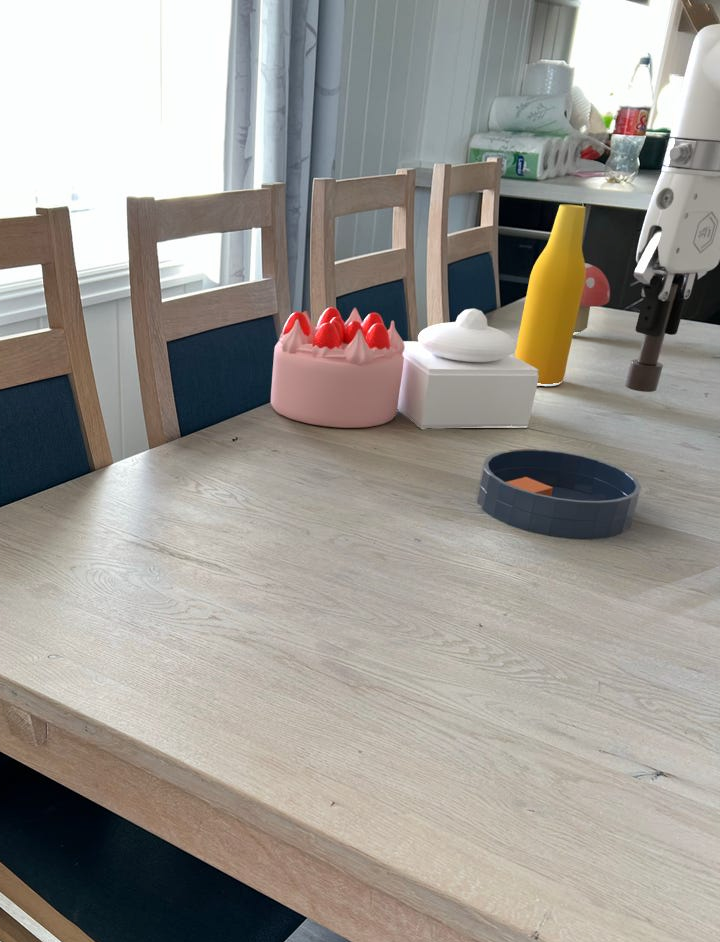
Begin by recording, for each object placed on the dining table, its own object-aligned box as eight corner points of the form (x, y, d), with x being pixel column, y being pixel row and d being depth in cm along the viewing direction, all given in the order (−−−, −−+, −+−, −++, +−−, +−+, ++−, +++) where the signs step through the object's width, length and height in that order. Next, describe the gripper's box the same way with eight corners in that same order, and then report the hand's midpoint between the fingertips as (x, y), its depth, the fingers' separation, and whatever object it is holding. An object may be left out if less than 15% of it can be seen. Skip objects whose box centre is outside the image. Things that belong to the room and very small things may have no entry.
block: (546, 519, 115) (553, 487, 113) (524, 525, 113) (531, 493, 111) (519, 508, 118) (526, 476, 116) (497, 514, 116) (504, 482, 114)
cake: (371, 392, 162) (383, 303, 155) (415, 429, 145) (430, 332, 138) (257, 392, 158) (263, 301, 151) (288, 431, 141) (297, 330, 134)
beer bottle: (559, 377, 179) (597, 205, 164) (565, 390, 171) (605, 211, 156) (508, 372, 180) (541, 201, 165) (511, 384, 172) (547, 206, 157)
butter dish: (420, 429, 145) (437, 320, 137) (381, 395, 160) (394, 295, 153) (528, 428, 149) (550, 321, 141) (479, 395, 164) (497, 297, 156)
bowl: (661, 526, 117) (672, 487, 114) (561, 555, 108) (572, 513, 105) (543, 477, 130) (551, 441, 127) (445, 499, 120) (452, 461, 118)
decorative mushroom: (525, 334, 211) (540, 260, 203) (552, 326, 220) (566, 256, 212) (584, 346, 203) (602, 270, 196) (609, 337, 213) (626, 265, 205)
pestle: (662, 390, 117) (691, 286, 111) (644, 393, 115) (672, 287, 109) (637, 382, 120) (663, 280, 114) (618, 385, 118) (645, 281, 112)
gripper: (688, 161, 99) (641, 346, 108) (774, 163, 107) (723, 335, 116) (626, 154, 104) (585, 331, 113) (712, 157, 112) (668, 322, 121)
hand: (655, 332), depth 114 cm, fingers closed on pestle, 2 cm apart
